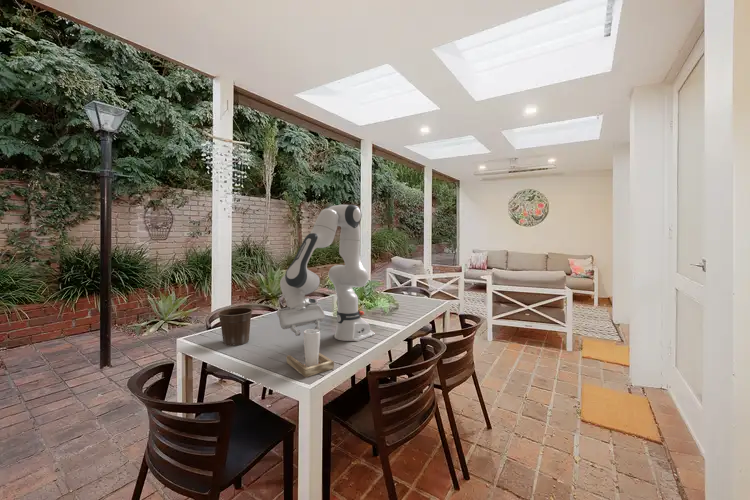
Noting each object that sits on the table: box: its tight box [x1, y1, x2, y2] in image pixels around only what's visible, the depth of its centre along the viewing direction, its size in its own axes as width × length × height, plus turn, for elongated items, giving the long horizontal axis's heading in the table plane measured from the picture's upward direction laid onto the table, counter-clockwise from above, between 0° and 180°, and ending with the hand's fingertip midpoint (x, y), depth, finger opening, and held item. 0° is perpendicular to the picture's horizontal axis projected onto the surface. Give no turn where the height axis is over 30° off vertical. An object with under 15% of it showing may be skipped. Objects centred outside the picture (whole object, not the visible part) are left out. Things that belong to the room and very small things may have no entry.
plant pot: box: [217, 307, 253, 347], centre depth 161 cm, size 16×16×16 cm
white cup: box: [303, 328, 321, 367], centre depth 132 cm, size 7×7×15 cm
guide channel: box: [286, 352, 335, 378], centre depth 134 cm, size 13×18×3 cm
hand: (308, 332), depth 135 cm, fingers open, 8 cm apart
